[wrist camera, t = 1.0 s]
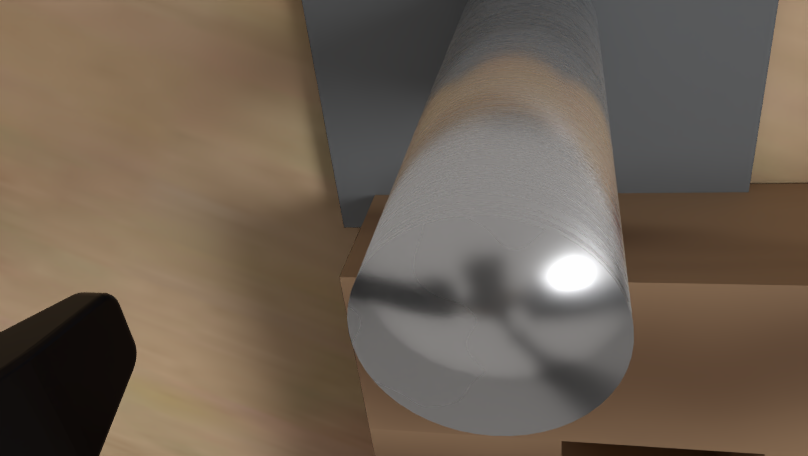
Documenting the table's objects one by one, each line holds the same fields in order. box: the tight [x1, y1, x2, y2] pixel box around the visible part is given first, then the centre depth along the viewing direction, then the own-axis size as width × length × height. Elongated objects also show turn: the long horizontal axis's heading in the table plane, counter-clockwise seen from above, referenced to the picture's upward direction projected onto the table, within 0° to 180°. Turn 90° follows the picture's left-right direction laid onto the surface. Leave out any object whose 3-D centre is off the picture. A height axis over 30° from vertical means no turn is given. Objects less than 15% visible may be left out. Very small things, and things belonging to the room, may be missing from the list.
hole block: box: [339, 183, 808, 456], centre depth 20 cm, size 14×14×4 cm
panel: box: [302, 0, 779, 227], centre depth 16 cm, size 10×10×1 cm
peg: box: [347, 0, 634, 436], centre depth 12 cm, size 3×3×10 cm
